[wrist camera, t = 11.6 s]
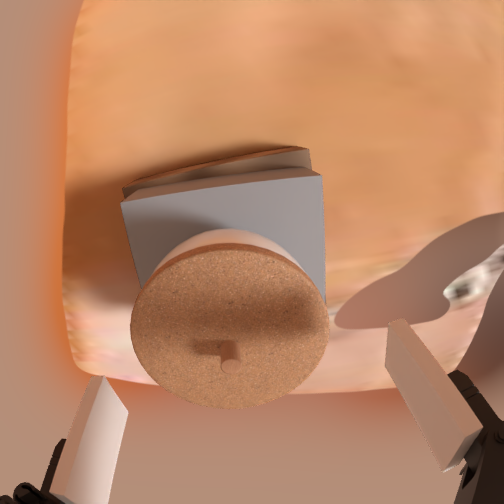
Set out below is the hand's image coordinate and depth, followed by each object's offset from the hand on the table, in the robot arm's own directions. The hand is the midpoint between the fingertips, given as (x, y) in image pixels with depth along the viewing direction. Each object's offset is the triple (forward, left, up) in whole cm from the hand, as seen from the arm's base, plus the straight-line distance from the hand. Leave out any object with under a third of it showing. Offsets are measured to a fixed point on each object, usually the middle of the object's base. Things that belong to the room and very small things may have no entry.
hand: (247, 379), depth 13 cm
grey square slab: (0, +1, -16) cm, 16 cm away
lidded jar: (+1, 0, -11) cm, 11 cm away
